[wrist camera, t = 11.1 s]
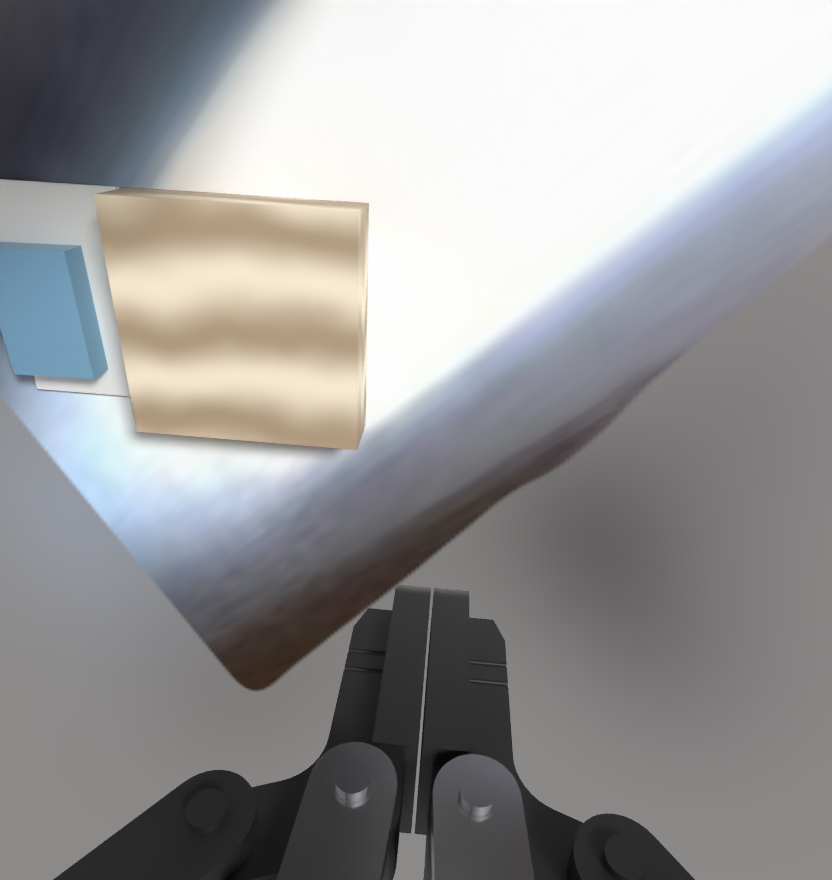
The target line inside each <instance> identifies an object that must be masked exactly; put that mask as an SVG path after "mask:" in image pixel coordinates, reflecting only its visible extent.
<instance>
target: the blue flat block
mask: <svg viewBox="0 0 832 880" xmlns="http://www.w3.org/2000/svg"><path fill="white" fill-rule="evenodd" d="M0 329H1V332H2V336H3V339H4V342H5V346H6V349H7V352H8V356H9V359H10V362H11V366H12V369H13V372H14V374H15V375H32V376H49V377H65V378H82V379H95V378H96V377H98V376H99V375H101V374H102V373H104V372H105V371H106V370H108V365H107V360H106V356H105V351H104V347H103V342H102V338H101V333H100V329H99V324H98V320H97V315H96V311H95V306H94V302H93V297H92V293H91V288H90V283H89V279H88V274H87V270H86V265H85V261H84V256H83V252H82V247H81V245H60V244H39V243H18V242H0Z"/></svg>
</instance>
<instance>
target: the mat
mask: <svg viewBox="0 0 832 880" xmlns="http://www.w3.org/2000/svg"><path fill="white" fill-rule="evenodd" d="M115 189H119V187H114V186H99V185H84V184H69V183H53V182H38V181H23V180H8V179H0V242H18V243H39V244H60V245H81V247H82V252H83V256H84V261H85V265H86V270H87V274H88V279H89V283H90V288H91V293H92V297H93V302H94V306H95V311H96V315H97V320H98V324H99V329H100V333H101V338H102V342H103V347H104V351H105V356H106V360H107V365H108V370H106V371H105V372H104V373H102V374H101V375H99V376H98V377H96V378H95V379H82V378H65V377H49V376H34V379H35V383H36V386H37V389H44V390H57V391H69V392H81V393H94V394H106V395H118V396H130V392H129V386H128V381H127V375H126V370H125V364H124V359H123V354H122V348H121V343H120V337H119V332H118V327H117V321H116V316H115V310H114V305H113V300H112V294H111V289H110V283H109V278H108V272H107V267H106V262H105V256H104V251H103V245H102V240H101V235H100V229H99V224H98V218H97V213H96V208H95V202H94V197H93V194H96V193H101V192H106V191H111V190H115Z"/></svg>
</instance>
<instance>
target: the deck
mask: <svg viewBox="0 0 832 880" xmlns="http://www.w3.org/2000/svg"><path fill="white" fill-rule="evenodd" d="M93 197H94V202H95V208H96V213H97V218H98V224H99V229H100V235H101V240H102V245H103V251H104V256H105V262H106V267H107V272H108V278H109V283H110V289H111V294H112V300H113V305H114V310H115V316H116V321H117V327H118V332H119V337H120V343H121V348H122V354H123V359H124V364H125V370H126V375H127V381H128V386H129V392H130V397H131V402H132V408H133V413H134V419H135V424H136V429H137V432H147V433H159V434H171V435H183V436H195V437H207V438H219V439H231V440H243V441H255V442H267V443H279V444H291V445H303V446H315V447H327V448H339V449H351V450H357V448H358V445H359V442H360V439H361V436H362V433H363V430H364V427H365V412H366V344H367V275H368V207H369V203H357V202H342V201H326V200H311V199H296V198H281V197H266V196H251V195H235V194H220V193H205V192H190V191H175V190H160V189H144V188H129V187H125V188H120V189H115V190H111V191H106V192H101V193H96V194H93Z"/></svg>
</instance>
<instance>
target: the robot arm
mask: <svg viewBox="0 0 832 880" xmlns="http://www.w3.org/2000/svg"><path fill="white" fill-rule="evenodd" d="M430 594H431V588H425V587H414V586H404V585H396V590H395V597H394V603H393V610H392V611H390V610H381V609H370V608H368V609H367V611H366V612H365V613H364V614H363V616H362V617H361V618H360V619H359V621H358V622H357V623H356V624H355V626H354V628H353V633H352V637H351V642H350V646H349V652H348V655H347V659H346V664H345V670H344V672H343V677H342V681H341V686H340V690H339V695H338V699H337V703H336V708H335V712H334V717H333V721H332V726H331V730H330V735H329V738H328V742H327V745H326V747H325V749H324V751H323V752H322V754H321V755H320V757H319V758H318V759H317V760H316V762H314V764H313V765H311V766H310V767H309V768H308V769H307V770H305V771H303V772H302V773H300V774H299V775H296V776H294V777H292V778H289V779H286V780H282V781H279V782H274V783H269V784H265V785H261V786H256V787H251V786H250V785H249V783H248V782H247V781H246V780H245V779H244V778H243V777H242V776H240V775H238V774H236V773H234V772H231V771H225V770H212V771H207V772H204V773H200V774H198V775H196V776H194V777H192V778H190V779H188V780H187V781H185V782H184V783H183V784H181V785H180V786H178V787H177V788H176V789H174V790H173V791H171V792H170V793H169V794H168V795H166V796H165V797H164V798H162V799H161V800H159V801H158V802H157V803H155V804H154V805H153V806H151V807H150V808H149V809H148V810H146V811H145V812H143V813H142V814H141V815H139V816H138V817H137V818H135V819H134V820H133V821H131V822H130V823H129V824H127V825H126V826H125V827H123V828H122V829H121V830H119V831H118V832H117V833H115V834H114V835H112V836H111V837H110V838H108V839H107V840H106V841H104V842H103V843H102V844H100V845H99V846H98V847H97V848H95V849H94V850H92V851H91V852H90V853H88V854H87V855H86V856H84V857H83V858H82V859H80V860H79V861H78V862H76V863H75V864H74V865H72V866H71V867H70V868H68V869H67V870H66V871H64V872H63V873H62V874H60V875H59V876H58V877H56V878H55V879H54V880H393V877H394V874H395V870H396V863H397V853H398V843H399V832H402V833H411V827H412V815H413V802H414V791H415V779H416V767H417V755H418V743H419V731H420V718H421V706H422V705H421V704H422V693H423V681H424V669H425V656H426V655H425V654H426V643H427V631H428V619H429V607H430ZM507 684H508V680H507V668H506V650H505V640H504V638H503V636H502V635H501V633H500V632H499V629H498V628H497V626H496V624H495V622H494V621H493V620H487V619H477V618H469V592H468V591H459V590H448V589H438V588H434V595H433V607H432V618H431V631H430V642H429V653H428V667H427V679H426V692H425V706H424V719H423V732H422V745H421V759H420V772H419V785H418V799H417V812H416V825H415V834H423V835H426V852H425V869H424V878H423V880H695V879H694V878H693V877H692V876H691V875H690V874H689V873H688V872H687V871H686V870H685V869H684V868H683V867H682V866H681V864H680V863H679V862H678V861H677V860H676V859H675V858H674V857H673V856H672V855H671V854H670V853H669V852H668V851H667V850H666V849H665V848H664V846H663V845H662V844H661V843H660V842H659V841H658V840H657V839H656V838H655V837H654V836H653V835H652V834H651V833H650V832H649V831H648V830H647V829H646V828H644V827H643V826H641V825H640V824H639V823H637V822H635V821H633V820H632V819H629V818H626V817H624V816H620V815H616V814H600V815H596V816H593V817H591V818H590V819H588V820H586V821H585V822H584V823H582V822H580V821H578V820H575V819H573V818H571V817H569V816H566V815H564V814H562V813H560V812H558V811H556V810H553V809H551V808H550V807H548V806H546V805H544V804H543V803H541V802H540V801H538V800H537V799H536V798H535V797H534V796H533V795H532V794H531V793H530V792H529V791H528V790H527V789H526V787H525V786H524V785H523V783H522V782H521V780H520V778H519V776H518V774H517V772H516V769H515V766H514V762H513V753H512V738H511V723H510V708H509V695H508V686H507Z"/></svg>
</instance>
